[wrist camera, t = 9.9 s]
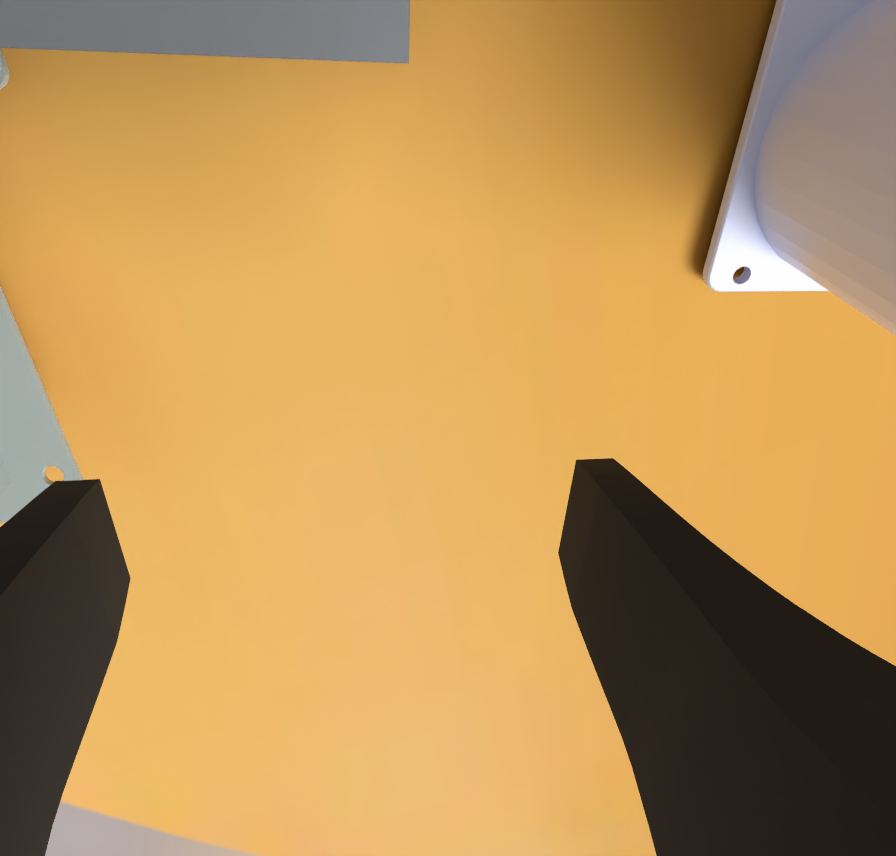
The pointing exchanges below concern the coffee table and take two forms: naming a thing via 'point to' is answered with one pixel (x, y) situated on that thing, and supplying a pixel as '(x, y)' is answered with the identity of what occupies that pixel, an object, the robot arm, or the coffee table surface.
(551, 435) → the coffee table surface
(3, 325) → the metal bracket
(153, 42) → the well
